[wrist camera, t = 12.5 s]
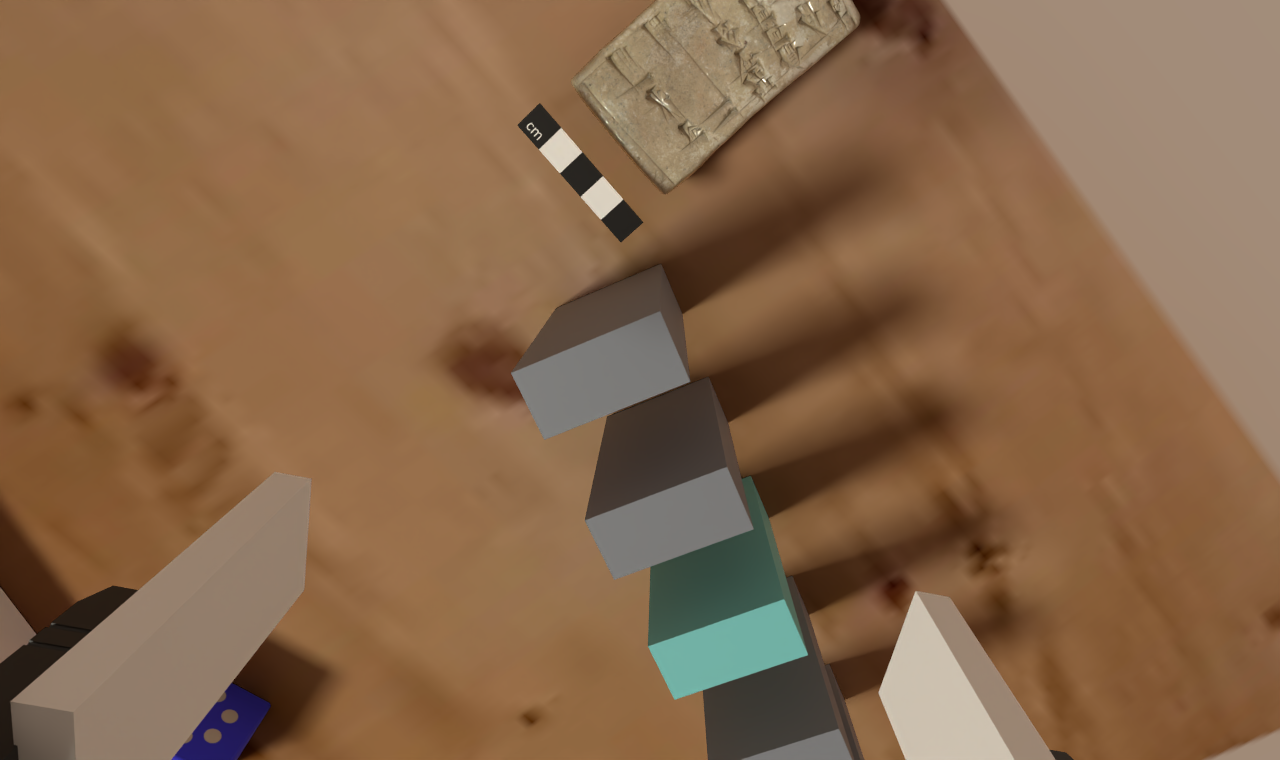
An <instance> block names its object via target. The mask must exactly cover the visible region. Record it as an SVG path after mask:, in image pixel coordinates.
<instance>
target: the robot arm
mask: <svg viewBox="0 0 1280 760" xmlns="http://www.w3.org/2000/svg"><path fill="white" fill-rule="evenodd" d="M311 480H312V479H310V478H305V477H300V476H294V475H289V474H284V473H278V472H274V473H273V474H272V475H271V476H270V477H268V478H267V479H266V480H265V481H264V482H263V483H262V484H260V485H259V486H258V487H257V488H256V489H255V490H253V491H252V492H251V493H250V494H249V495H248V496H247V497H245V498H244V499H243V500H242V501H241V502H240V503H239V504H237V505H236V506H235V507H234V508H233V509H232V510H230V511H229V512H228V513H227V514H226V515H225V516H224V517H222V518H221V519H220V520H219V521H218V522H217V523H215V524H214V525H213V526H212V527H211V528H210V529H209V530H207V531H206V532H205V533H204V534H203V535H202V536H200V537H199V538H198V539H197V540H196V541H195V542H194V543H192V544H191V545H190V546H189V547H188V548H187V549H185V550H184V551H183V552H182V553H181V554H180V555H179V556H177V557H176V558H175V559H174V560H173V561H172V562H170V563H169V564H168V565H167V566H166V567H165V568H164V569H162V570H161V571H160V572H159V573H158V574H157V575H156V576H154V577H153V578H152V579H151V580H150V581H149V582H147V583H146V584H145V585H144V586H143V587H142V588H141V589H139V590H134V589H129V588H123V587H118V586H111V587H109V588H107V589H105V590H102V591H100V592H98V593H96V594H94V595H91V596H89V597H87V598H85V599H83V600H80V601H78V602H77V603H75V604H74V605H73V606H72V607H70V608H69V609H68V610H67V611H65V612H64V613H63V614H62V615H60V616H59V617H58V618H57V619H55V620H54V621H53V622H52V623H51V625H50V627H45V628H44V629H43V630H41V631H40V632H39V633H38V634H36V635H35V636H34V637H33V638H31V639H30V640H29V643H28V644H27V645H23V646H21V647H20V648H19V649H18V650H16V651H15V652H14V653H13V654H11V655H10V656H9V657H8V658H6V659H5V660H4V661H3V662H1V663H0V760H171V759H172V758H173V757H174V756H175V754H176V753H177V752H178V750H179V749H180V748H181V747H182V745H183V744H184V743H185V742H186V740H187V739H188V738H189V736H190V735H191V734H192V733H193V731H194V730H195V729H196V727H197V726H198V725H199V724H200V722H201V721H202V720H203V719H204V717H205V716H206V715H207V713H208V712H209V711H210V710H211V708H212V707H213V706H214V704H215V703H216V702H217V701H218V699H219V698H220V697H221V696H222V694H223V693H224V692H225V690H226V689H227V688H228V687H229V685H230V684H231V683H232V681H233V680H234V679H235V678H236V676H237V675H238V674H239V673H240V671H241V670H242V669H243V667H244V666H245V665H246V664H247V662H248V661H249V660H250V658H251V657H252V656H253V655H254V653H255V652H256V651H257V650H258V648H259V647H260V646H261V644H262V643H263V642H264V641H265V639H266V638H267V637H268V635H269V634H270V633H271V632H272V630H273V629H274V628H275V627H276V625H277V624H278V623H279V621H280V620H281V619H282V618H283V616H284V615H285V614H286V613H287V611H288V610H289V609H290V607H291V606H292V605H293V604H294V602H295V601H296V600H297V598H298V597H299V596H300V595H301V593H302V592H303V591H304V584H305V569H306V554H307V539H308V525H309V510H310V495H311ZM879 695H880V698H881V700H882V703H883V705H884V708H885V710H886V713H887V715H888V717H889V720H890V722H891V725H892V727H893V730H894V732H895V735H896V737H897V739H898V742H899V744H900V747H901V749H902V752H903V754H904V757H905V759H906V760H1073V759H1072V758H1071V757H1070V756H1069V755H1068V754H1067V753H1065V752H1059V751H1054V750H1049V749H1048V747H1047V746H1046V744H1045V743H1044V741H1043V740H1042V738H1041V737H1040V735H1039V733H1038V732H1037V730H1036V729H1035V727H1034V726H1033V724H1032V723H1031V721H1030V720H1029V718H1028V717H1027V715H1026V713H1025V712H1024V710H1023V709H1022V707H1021V706H1020V704H1019V703H1018V701H1017V700H1016V698H1015V697H1014V695H1013V694H1012V692H1011V690H1010V689H1009V687H1008V686H1007V684H1006V683H1005V681H1004V680H1003V678H1002V677H1001V675H1000V674H999V672H998V671H997V669H996V667H995V666H994V664H993V663H992V661H991V660H990V658H989V657H988V655H987V654H986V652H985V651H984V649H983V648H982V646H981V644H980V643H979V641H978V640H977V638H976V637H975V635H974V634H973V632H972V631H971V629H970V628H969V626H968V624H967V623H966V621H965V620H964V618H963V617H962V615H961V614H960V612H959V611H958V609H957V608H956V606H955V605H954V603H953V601H952V600H951V598H950V597H946V596H941V595H935V594H930V593H924V592H919V591H916V592H915V594H914V597H913V600H912V603H911V605H910V608H909V611H908V613H907V616H906V619H905V622H904V624H903V627H902V630H901V633H900V635H899V638H898V641H897V643H896V646H895V649H894V652H893V654H892V657H891V660H890V663H889V665H888V668H887V671H886V674H885V676H884V679H883V682H882V684H881V687H880V690H879Z"/></svg>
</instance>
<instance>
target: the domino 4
mask: <svg viewBox="0 0 1280 760" xmlns="http://www.w3.org/2000/svg"><path fill="white" fill-rule="evenodd" d="M786 580H787V583H788V587H789V590H790V594H791V597H792V601H793V604H794V607H795V611H796V614H797V618H798V621H799V625H800V628H801V632H802V635H803V639H804V642H805V646H806V649H807V653H808V655H807V656H804V657H801V658H798V659H795V660H792V661H789V662H786V663H783V664H780V665H777V666H774V667H771V668H768V669H765V670H762V671H759V672H756V673H753V674H750V675H747V676H744V677H741V678H738V679H735V680H732V681H729V682H726V683H723V684H720V685H717V686H714V687H711V688H708V689H705V690H703V698H704V712H705V726H706V739H707V753H708V760H854V757H853V754H852V751H851V748H850V744H849V741H848V738H847V735H846V732H845V729H844V725H843V722H842V719H841V716H840V713H839V709H838V706H837V703H836V700H835V697H834V694H833V690H832V687H831V684H830V681H829V678H828V675H827V671H826V668H825V665H824V662H823V659H822V656H821V652H820V649H819V646H818V643H817V640H816V636H815V633H814V630H813V627H812V624H811V621H810V617H809V614H808V612H807V610H806V607H805V605H804V603H803V600H802V598H801V595H800V593H799V591H798V588H797V586H796V583H795V581H794V579H793V576H790V577H787V578H786Z"/></svg>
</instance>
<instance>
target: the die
mask: <svg viewBox="0 0 1280 760" xmlns="http://www.w3.org/2000/svg"><path fill="white" fill-rule="evenodd" d="M270 707H271V705H270V703H269V702H267V701H265V700H263V699H261V698H259V697H257V696H255V695H254V694H252V693H250V692H248V691H246V690H244V689H242V688H240V687H238V686H237V685H235V684H233V683H231V684H230V685H229V687H228V688H227V689H226V690H225V692H224V693H223V694H222V696H221V697H220V698H219V699H218V701H217V702H216V703H215V704H214V706H213V707H212V708H211V710H210V711H209V712H208V713H207V715H206V716H205V717H204V719H203V720H202V721H201V722H200V724H199V725H198V726H197V727H196V729H195V730H194V731H193V733H192V734H191V735H190V736H189V738H188V739H187V740H186V742H185V743H184V744H183V745H182V747H181V748H180V749H179V750H178V752H177V753H176V754H175V756H174V757H173V758H172V759H171V760H237V759H238V757H239V756H240V754H241V753H242V751H243V750H244V748H245V746H246V745H247V743H248V742H249V740H250V739H251V737H252V735H253V734H254V732H255V731H256V729H257V727H258V726H259V724H260V723H261V721H262V720H263V718H264V716H265V715H266V713H267V712H268V710H269V708H270Z"/></svg>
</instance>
